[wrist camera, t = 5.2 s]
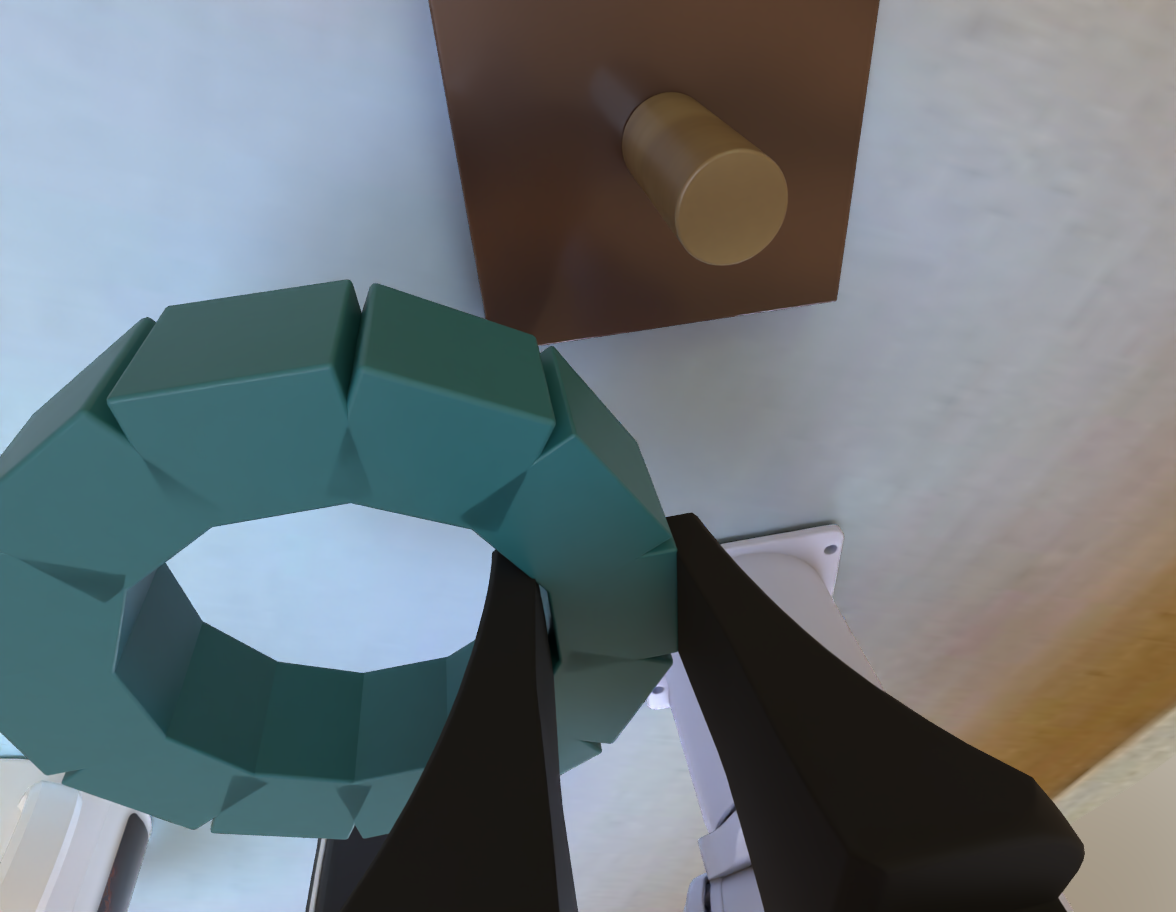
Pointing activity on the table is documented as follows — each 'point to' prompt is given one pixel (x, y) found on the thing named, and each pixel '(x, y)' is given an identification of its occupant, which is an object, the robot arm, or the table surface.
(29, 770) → the mug
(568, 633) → the ring
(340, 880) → the battery charger
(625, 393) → the table surface
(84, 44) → the table surface
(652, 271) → the stand
